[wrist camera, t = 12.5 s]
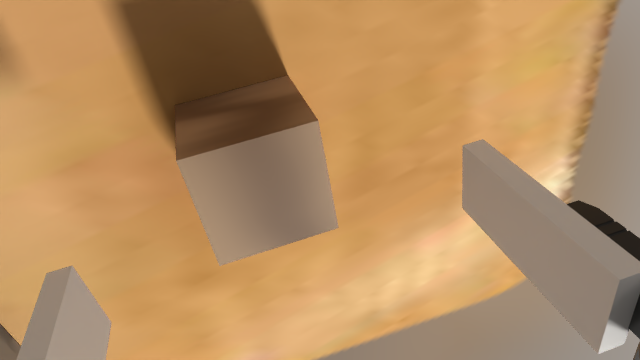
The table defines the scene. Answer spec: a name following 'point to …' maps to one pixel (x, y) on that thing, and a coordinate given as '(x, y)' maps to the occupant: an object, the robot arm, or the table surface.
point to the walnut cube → (254, 168)
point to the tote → (8, 346)
